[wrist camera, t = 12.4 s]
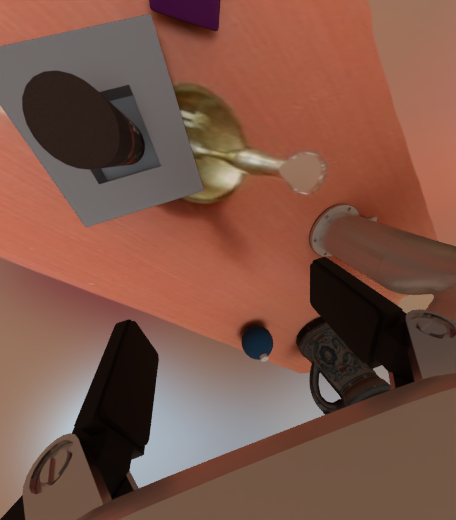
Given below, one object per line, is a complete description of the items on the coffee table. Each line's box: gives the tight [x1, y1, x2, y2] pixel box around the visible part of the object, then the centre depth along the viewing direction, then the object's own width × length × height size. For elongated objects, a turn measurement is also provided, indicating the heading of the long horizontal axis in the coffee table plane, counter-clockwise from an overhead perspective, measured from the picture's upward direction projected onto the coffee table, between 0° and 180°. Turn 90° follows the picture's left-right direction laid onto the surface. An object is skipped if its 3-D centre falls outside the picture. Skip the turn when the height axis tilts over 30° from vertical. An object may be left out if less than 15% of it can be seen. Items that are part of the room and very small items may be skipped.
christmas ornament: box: [242, 325, 273, 362], centre depth 50 cm, size 8×8×10 cm
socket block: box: [0, 14, 204, 227], centre depth 25 cm, size 18×18×4 cm
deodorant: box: [22, 70, 145, 170], centre depth 20 cm, size 6×6×15 cm
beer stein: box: [296, 317, 391, 415], centre depth 53 cm, size 16×19×25 cm
